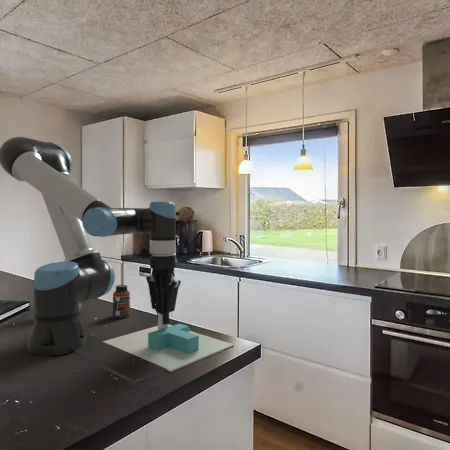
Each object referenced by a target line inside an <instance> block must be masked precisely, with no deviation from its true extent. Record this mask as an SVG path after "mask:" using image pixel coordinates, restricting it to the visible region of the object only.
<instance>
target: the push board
mask: <svg viewBox="0 0 450 450" xmlns="http://www.w3.org/2000/svg"><path fill="white" fill-rule="evenodd" d="M170 326H173V325H172V324H168V327H170ZM157 330H158V325H155V326H153V327H149V328H146V329H145V328H144V329H142V330H139V331H135V332H134V331H133V332H131V333H128V334H125V335H120V336H116V337H114V338H110V339H107V340H102V342H103V343H105V344H107V345H110V346H113V347H114V348H117V349H120V350H121V351H124V352H126V353H128V354H130V355H134V356H135V357H138V358H141V359H143V360H145V361H147V362H150V363H153V364H154V365H157V366H159V367H162V368H163V370H165V371H167V372H170V373H172V372H175V371H177V370H179V369H181V368H184V367H186V366H189V365H191V364H194V363H196V362H199V361H201V360H203V359H206V358H208V357H211V356H213V355H215V354H218V353H221V352H223V351H225V349H226V350H227V348H228V349H231V348H233V347H234V346H235V344H233V343H230V342H227V341H223V340H220V339H217V338H213V337H211V336H208V335H204V334H202V333H198V332H194V331H192V330H189V333H192V334H195V335H198V336H199V350H197V351H194V352H192V353H189V354H187V353H184V352H181V351H179V350H176V349H173V348H171V347H166V348H163V349H160V350H158V351H157V350H154V349H152V348H149V347H148V333H150V332H153V331H157ZM232 346H233V347H232Z"/></svg>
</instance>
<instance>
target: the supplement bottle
mask: <svg viewBox="0 0 450 450" xmlns="http://www.w3.org/2000/svg"><path fill="white" fill-rule="evenodd" d="M130 296H131V292H130V291H129V290H128V285H126V284H118V285H115V291H113V293H112V316H113V318H116V319H124V318H128V317H130V316H131V315H130V314H131V312H130V311H131V309H130V308H131V305H130V304H131V302H130V301H131V300H130V299H131V298H130Z"/></svg>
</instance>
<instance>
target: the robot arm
mask: <svg viewBox="0 0 450 450" xmlns="http://www.w3.org/2000/svg"><path fill="white" fill-rule="evenodd" d="M0 166H1V167H2V169H3V170H4V171H5V172H6V173H7V174H8V175H9V176H11V177H12V178H14V179H15V180H16V181H18V182H25V183H27V184H29V185H30V186H31V187H33V188H34V189H36V190H37V191H38V192H40V193H41V196H42V198H43V200H44V204H45V207H46V210H47V212H48V215H49V217H50V220H51V223H52V225H53V228H54V231H55V234H56V236H57V239H58V241H59V245H60V247H61V250H62V252H63V255H64V261H58V262H51V263H46V264H44V265H41V266H39V267H37V269H36V270H35V272H34V273H33V274H34V275H33V276H34V277H33V278H34V279H33V282H32V286H33V309H34V313H33V314H34V315H33V316H34V318H33V320H34V322H33V325H32V328H31V331H30V333H29V336H28V340H27V353H29V354H31V355H34V356H40V357H48V356H49V357H52V356H59V355H65V354H70V353H72V352H75V351H76V350H79V349H81V348H82V347H84V346H85V345H86V342H87V339H86V337H87V336H86V333H85V330H84V328H83V325H82V322H81V319H80V313H79V303H81V304H82V303H85V302H88V301H91V300H95V299H98V298H101V297H103V296H105V295H107V294H108V293H109V292H110V291H111V290H112V288H113V286H114V284H115V279H116V275H115V273H116V272H115V270H114V267H113V266H112V264H111V263H110V262H109V261H107V260H104V259H103V258H102V256H101V253H100V251H98V250H96V249H93V246H92V244H91V241H90V239H89V236H92V237H99V238H100V237H101V238H105V237H111V236H119V235H130V234H143V235H144V234H145V235H147V234H148V235H149V254H151V255H150V256H149V267H150V269H152V270H151V274H150V275H147V276H146V278H145V279H146V282H147V286H148V290H149V297H150V303H151V304H150V305H151V309H152V310H155V312H156V322H157V326H158V330H160V329H163V328H167V327H168V324H169V323H170V313H172V312H175V309H176V303H177V299H178V293H179V292H178V291H179V287H181V282H182V281H181V280H180V279H177V278H176V277H175V276H176V275H175V271H174V270H175V268H176V267H177V256H176V255H175V254H176V252H177V244H176V243H177V241H176V240H177V237H176V235H177V234H176V232H177V230H176V229H177V211H176V207H177V206H176V204H175V202H173V201H151V202H150V203H149V207H147V208H140V207H138V208H137V207H136V208H134V207H133V208H132V207H111V206H109V205H108V204H106V203H105V202H104V201H102V200H101V199H99V198H98V197H96V196H94V195H93V194H92V193H90V192H89V191H87V190H86V189H84V188H83V187H82V186H80V185H78V184H77V183H75V182H74V181H72V180H71V179H70V178H71V175H70V173H71V172H72V167H73V161H72V157H71V155H70V152H69V151H68V150H67V149H66V148H65V147H63V146H61V145H59V144H56V143H54V142H49V141H42V140H37V139H34V138H29V137H25V136H24V137H23V136H15V137H11V138H9V139H7V140H6V141H4V142H3V143H2V145H1V146H0ZM169 325H170V324H169Z"/></svg>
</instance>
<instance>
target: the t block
mask: <svg viewBox="0 0 450 450" xmlns="http://www.w3.org/2000/svg"><path fill="white" fill-rule="evenodd" d="M189 331H190V326H188V325H187V324H183V323H177V324H174V325H172V326H170V327H167V328H163V329H160V330H157V331H153V332H150V333H148V347H149V348H152V349H154V350H157V351H158V350H160V349H163V348H166V347H171V348H173V349H176V350H179V351H181V352H184V353H187V354H189V353H192V352H194V351H197V350H199V336H198V335H195V334H192V333H189Z"/></svg>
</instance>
